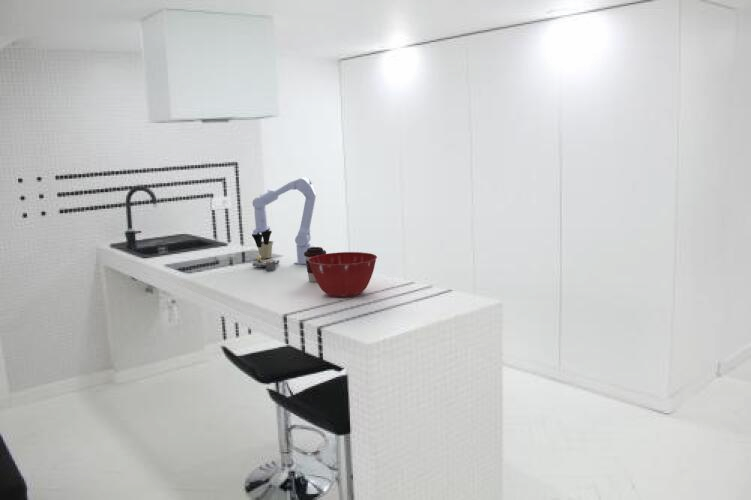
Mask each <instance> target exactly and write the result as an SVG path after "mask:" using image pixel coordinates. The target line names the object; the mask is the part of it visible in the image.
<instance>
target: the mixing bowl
mask: <svg viewBox="0 0 751 500" xmlns="http://www.w3.org/2000/svg"><path fill="white" fill-rule="evenodd" d="M377 259H378V256H377V255H376V254H373V253H369V252H362V251H361V252H358V251H356V252H355V251H346V252H345V251H344V252H343V251H342V252H340V251H339V252H330V253H326V254H322V255H317V256H314V257H311V258H309V259H308V262H309V263H310V267H311V270H312V272H313V275H314V277H315V279H316V281H317V282H316V283H317V285H318V286H319V288H320V290H321V291H322V292H323V293H325V294H326V295H327V296H329V297H333V298H350V297H355V296H358V295H360V294H361V293H362V292H364V291H365V290H366V289H367V288H368V286H369V284H370V281H371V280H372V276H373V273H374V271H375V270H374V269H375V266H376V262H377Z"/></svg>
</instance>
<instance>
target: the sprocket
mask: <svg viewBox="0 0 751 500" xmlns="http://www.w3.org/2000/svg"><path fill="white" fill-rule="evenodd" d="M256 259H257V260H256V261H253V263H252V264H251V265H252V267H258V268H263V267H264V266H266V262H268V261H275V265H276V266H278V265H280V260H279V259H277V260H275V259H272V258H270V259H261V256H260V255H259V254H258V255H257V256H256Z"/></svg>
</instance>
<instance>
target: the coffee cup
mask: <svg viewBox="0 0 751 500" xmlns="http://www.w3.org/2000/svg"><path fill="white" fill-rule="evenodd" d="M322 254H327V250H324V248H323V247H320V246H314V247H312V248H308V249H307V251H306V252H304V256H306V264H305V265H306V272H307V277H308V281H309V282H311V283H317V281H316V279H315V277H314V275H313V272H312V270H311V267H310V263H309V262H308V259H309V258H311V257H314V256H317V255H322Z"/></svg>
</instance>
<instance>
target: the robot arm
mask: <svg viewBox="0 0 751 500" xmlns="http://www.w3.org/2000/svg"><path fill="white" fill-rule="evenodd" d="M313 184H314V183H313V182H312V181H311V179H309V178H308V177H305V176H302V177H301V178H298V179H295V180H292V181H289V182H288V183H286V184H284V185H283V186H281V187H279V188H278V189H268V190H267V191H266V192H265V193H263V194H262V193H261V194H259V196H258V197H255V198H254V199H252V203H251V204H252V207H253V208H254V220H255V221H254V222H255V223H254V224H255V228H254V229H253V230H252V234H251V237H252V238H253V240H254V242H255V245H256V247H257V248H258V247H261V246H262V241H264V245H268V244H269V241H270V238H271V236H272V235H271V234H272V232H273V231H272V230H271V226H268V223H267V212H266V206H268V205H269V204H271V203H273V202H275V201H277V200H278V199H279V196H281V195H283V194H285V193H287V192H289V191H291V190H293V191H295V190H298V191H299V192H300V193H302V195H303V196H304V197H305V201H304V206H303V210H302V217H301V222H300V225H299V228H298V233H297V234H296V236H295V238H294V241H295V244H296V247H295V248H296V257H297V258H296V260H297V261H295V262H294V264H295V265H296V264H297V265H301V264H302V265H306V256H304V252H306V251H307V249H308V248H312V247H315V246H313V245H311V243H310V241H311V237H312V236H311V229H310V228H311V224H312V217H313V214H314V208H315V202H316V198H317V194H316V190H315V187H314V185H313Z"/></svg>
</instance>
